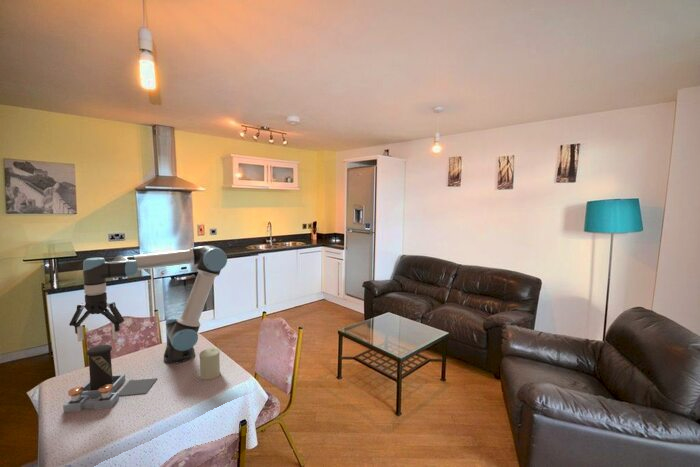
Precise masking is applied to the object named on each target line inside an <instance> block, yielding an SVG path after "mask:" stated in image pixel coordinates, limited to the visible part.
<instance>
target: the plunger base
mask: <svg viewBox="0 0 700 467" xmlns="http://www.w3.org/2000/svg"><path fill="white" fill-rule="evenodd" d="M118 393H119V392H118V391H117V392H114V393H111V399H110V400H103V401H102V395H101V396H100V397H99V398H90V397H89V395H84V396H82V400H81V401H80V402H79V403H71V398H70V399H68V400H67V401H66V402H65V403H64V404H63V405H62V408H63V413H71V412H74V413H75V412H80V411H82V410H83V409H93V408H94V410H101V409H102V410H104V409H112V408H113V406H114V405H115V404H116V403H117V401H118V400H120V398H119V397H120V396H119V395H118Z"/></svg>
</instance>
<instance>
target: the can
mask: <svg viewBox="0 0 700 467" xmlns="http://www.w3.org/2000/svg"><path fill="white" fill-rule="evenodd" d="M220 353H221V351H220V350H219V348H212V347H211V348H206V349H203V350H202V351H200V353H199V367H200V368H199V373H200V374H199V377H200V379H202V380H204V381H205V380H212V379H215V378H217V377H218V376H220V374H221V371H220V370H221V369H220V367H221V366H220Z"/></svg>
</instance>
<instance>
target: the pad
mask: <svg viewBox="0 0 700 467" xmlns="http://www.w3.org/2000/svg"><path fill="white" fill-rule="evenodd" d="M157 380H158V378H157V377H155V378H143V379H131V380H128V382H127V383H126V384H125V385H124V386H123V387H122V389H120V390H119V392H118V395H119V397H126V396H127V397H129V396H139V395H146V394H148V392H149V391H150V389H151V388H152V387H153V386H154V384H155V383H156V382H157Z"/></svg>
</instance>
